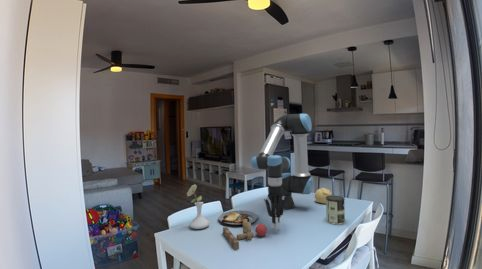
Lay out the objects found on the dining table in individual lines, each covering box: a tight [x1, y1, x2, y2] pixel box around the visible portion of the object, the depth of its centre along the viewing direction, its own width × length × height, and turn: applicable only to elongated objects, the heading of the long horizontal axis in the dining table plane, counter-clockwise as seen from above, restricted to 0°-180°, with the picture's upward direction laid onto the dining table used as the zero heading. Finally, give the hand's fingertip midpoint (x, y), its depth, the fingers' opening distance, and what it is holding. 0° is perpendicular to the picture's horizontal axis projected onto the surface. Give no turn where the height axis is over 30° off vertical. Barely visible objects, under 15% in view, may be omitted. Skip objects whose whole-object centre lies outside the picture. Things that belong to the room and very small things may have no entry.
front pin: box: [236, 231, 255, 241], centre depth 129 cm, size 2×2×8 cm
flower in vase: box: [186, 184, 211, 230], centre depth 145 cm, size 13×11×25 cm
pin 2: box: [246, 221, 252, 242], centre depth 127 cm, size 2×2×8 cm
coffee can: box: [325, 194, 346, 225], centre depth 149 cm, size 10×10×14 cm
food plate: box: [217, 210, 260, 226], centre depth 155 cm, size 25×23×4 cm
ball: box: [254, 223, 268, 237], centre depth 131 cm, size 6×6×6 cm
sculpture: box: [314, 187, 333, 205], centre depth 186 cm, size 11×12×11 cm
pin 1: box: [242, 219, 247, 234], centre depth 132 cm, size 2×2×8 cm
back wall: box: [222, 226, 240, 251], centre depth 126 cm, size 20×2×4 cm, turn 20°
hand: (276, 228), depth 135 cm, fingers closed
